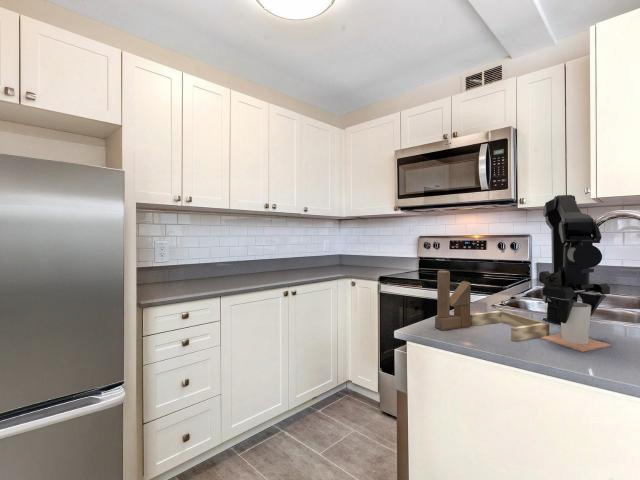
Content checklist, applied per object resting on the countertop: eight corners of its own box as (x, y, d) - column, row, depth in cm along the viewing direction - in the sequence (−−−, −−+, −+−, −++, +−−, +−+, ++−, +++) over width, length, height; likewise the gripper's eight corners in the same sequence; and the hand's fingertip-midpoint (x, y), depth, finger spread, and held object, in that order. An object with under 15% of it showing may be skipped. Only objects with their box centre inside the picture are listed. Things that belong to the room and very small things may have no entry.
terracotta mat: (567, 333, 98) (567, 332, 98) (611, 346, 88) (611, 344, 88) (540, 338, 95) (540, 337, 95) (582, 351, 84) (583, 350, 84)
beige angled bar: (501, 320, 112) (501, 310, 112) (549, 335, 97) (549, 323, 97) (469, 325, 108) (469, 314, 108) (514, 341, 92) (514, 328, 92)
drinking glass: (554, 339, 93) (555, 303, 92) (567, 335, 96) (568, 300, 95) (582, 346, 87) (583, 308, 87) (595, 342, 90) (596, 305, 90)
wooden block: (470, 327, 106) (471, 270, 105) (442, 330, 102) (442, 272, 102) (462, 324, 109) (462, 269, 109) (434, 327, 106) (434, 270, 105)
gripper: (569, 259, 101) (567, 311, 102) (523, 262, 95) (523, 317, 95) (611, 263, 91) (610, 320, 91) (564, 266, 84) (563, 328, 85)
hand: (575, 321), depth 91 cm, fingers open, 9 cm apart
